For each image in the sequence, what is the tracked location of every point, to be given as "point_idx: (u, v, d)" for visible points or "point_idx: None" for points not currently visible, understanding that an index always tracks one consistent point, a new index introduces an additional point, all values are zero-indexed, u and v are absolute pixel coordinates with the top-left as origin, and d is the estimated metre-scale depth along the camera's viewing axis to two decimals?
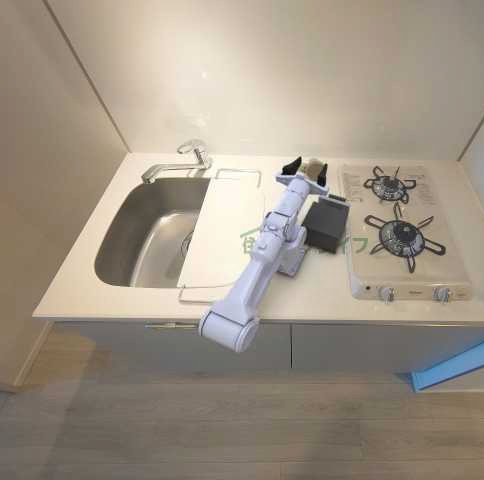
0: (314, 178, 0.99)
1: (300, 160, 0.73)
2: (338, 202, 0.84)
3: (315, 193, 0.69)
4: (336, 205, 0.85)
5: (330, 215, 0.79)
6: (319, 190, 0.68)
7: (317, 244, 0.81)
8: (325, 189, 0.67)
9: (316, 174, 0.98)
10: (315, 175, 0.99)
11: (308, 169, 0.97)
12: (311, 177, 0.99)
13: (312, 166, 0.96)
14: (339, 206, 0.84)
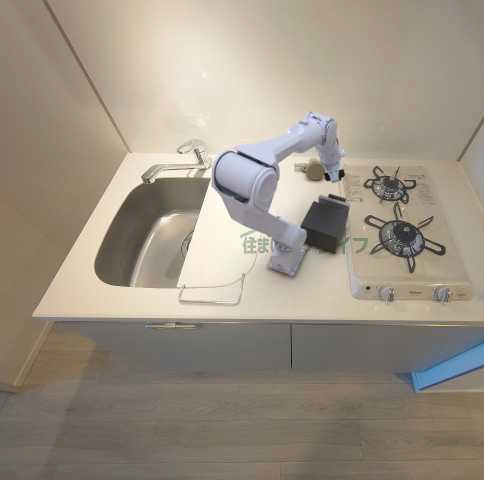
0: (314, 178, 0.99)
1: None
2: (338, 202, 0.84)
3: (327, 170, 0.72)
4: (336, 205, 0.85)
5: (330, 215, 0.79)
6: (334, 172, 0.71)
7: (317, 244, 0.81)
8: (338, 177, 0.71)
9: (316, 174, 0.98)
10: (315, 175, 0.99)
11: (308, 169, 0.97)
12: (311, 177, 0.99)
13: (312, 166, 0.96)
14: (339, 206, 0.84)
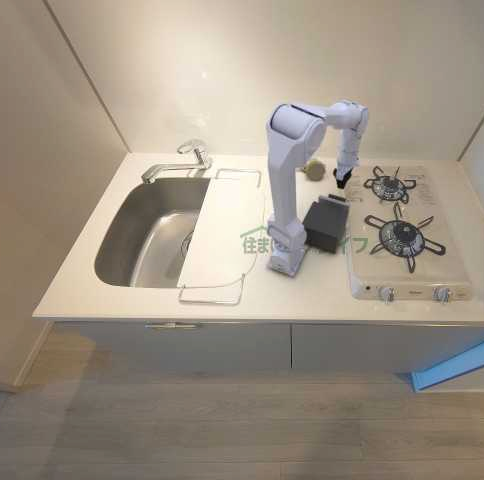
0: (314, 178, 0.99)
1: None
2: (338, 202, 0.84)
3: (338, 167, 0.77)
4: (336, 205, 0.85)
5: (330, 215, 0.79)
6: (342, 171, 0.76)
7: (317, 244, 0.81)
8: (343, 175, 0.75)
9: (316, 174, 0.98)
10: (315, 175, 0.99)
11: (308, 169, 0.97)
12: (311, 177, 0.99)
13: (312, 166, 0.96)
14: (339, 206, 0.84)
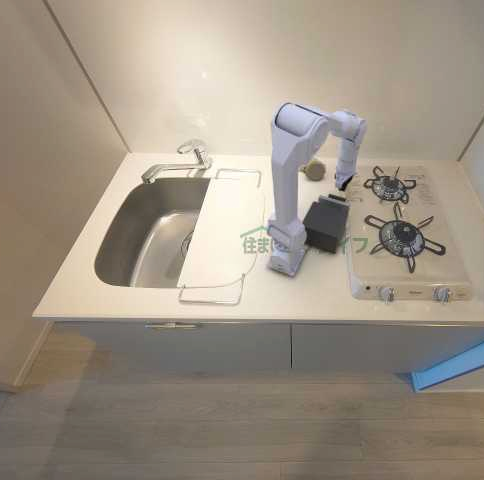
0: (314, 178, 0.99)
1: None
2: (338, 202, 0.84)
3: (337, 175, 0.80)
4: (336, 205, 0.85)
5: (330, 215, 0.79)
6: (341, 179, 0.79)
7: (317, 244, 0.81)
8: (342, 184, 0.78)
9: (316, 174, 0.98)
10: (315, 175, 0.99)
11: (308, 169, 0.97)
12: (311, 177, 0.99)
13: (312, 166, 0.96)
14: (339, 206, 0.84)
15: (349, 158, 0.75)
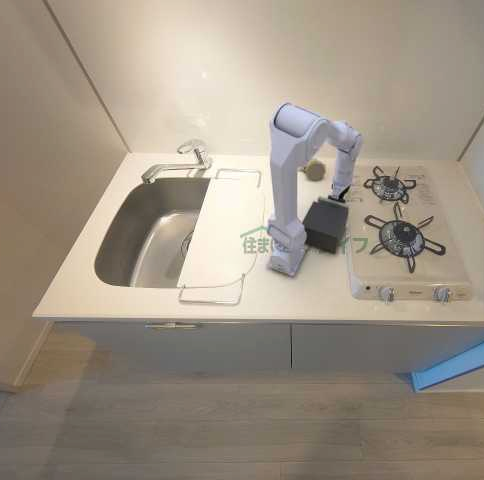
0: (314, 178, 0.99)
1: (340, 197, 0.89)
2: (337, 203, 0.83)
3: (333, 186, 0.81)
4: (335, 206, 0.84)
5: (330, 215, 0.79)
6: (337, 190, 0.80)
7: (317, 244, 0.81)
8: (338, 194, 0.79)
9: (316, 174, 0.98)
10: (315, 175, 0.99)
11: (308, 169, 0.97)
12: (311, 177, 0.99)
13: (312, 166, 0.96)
14: (338, 207, 0.84)
15: (345, 170, 0.76)
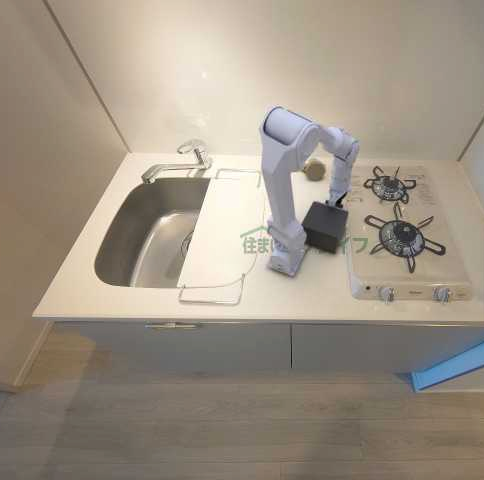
0: (314, 178, 0.99)
1: None
2: None
3: (330, 193, 0.79)
4: None
5: (330, 215, 0.79)
6: (334, 197, 0.78)
7: (317, 244, 0.81)
8: (335, 201, 0.77)
9: (316, 174, 0.98)
10: (315, 175, 0.99)
11: (308, 169, 0.97)
12: (311, 177, 0.99)
13: (312, 166, 0.96)
14: None
15: (342, 176, 0.74)
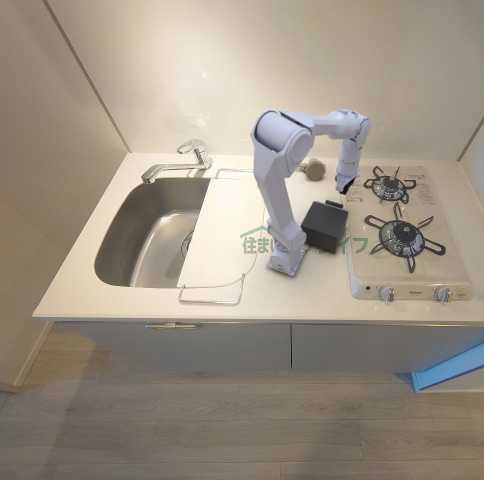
0: (314, 178, 0.99)
1: None
2: None
3: (337, 178, 0.74)
4: None
5: (330, 215, 0.79)
6: (342, 182, 0.73)
7: (317, 244, 0.81)
8: (343, 187, 0.72)
9: (316, 174, 0.98)
10: (315, 175, 0.99)
11: (308, 169, 0.97)
12: (311, 177, 0.99)
13: (312, 166, 0.96)
14: None
15: (350, 159, 0.69)
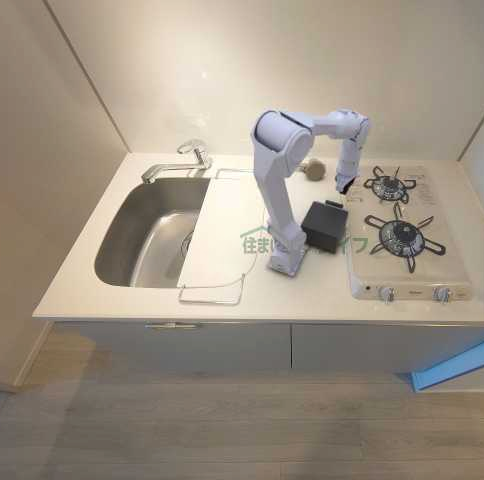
0: (314, 178, 0.99)
1: None
2: None
3: (337, 178, 0.74)
4: None
5: (330, 215, 0.79)
6: (342, 182, 0.73)
7: (317, 244, 0.81)
8: (343, 187, 0.72)
9: (316, 174, 0.98)
10: (315, 175, 0.99)
11: (308, 169, 0.97)
12: (311, 177, 0.99)
13: (312, 166, 0.96)
14: None
15: (350, 159, 0.69)
